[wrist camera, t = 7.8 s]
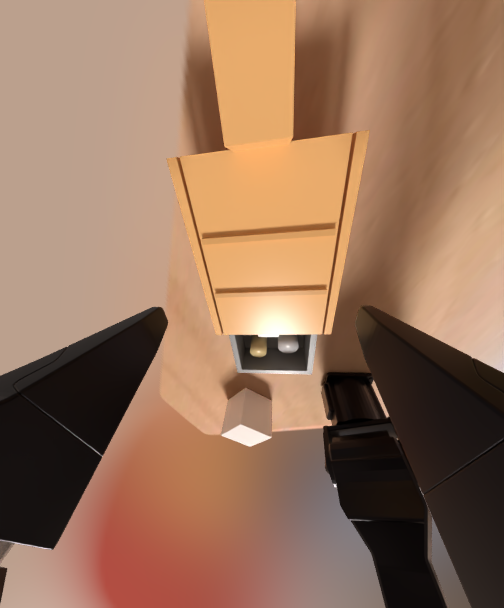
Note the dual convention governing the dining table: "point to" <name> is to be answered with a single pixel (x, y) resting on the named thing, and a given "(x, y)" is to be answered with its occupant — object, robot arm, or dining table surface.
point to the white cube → (248, 418)
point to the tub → (274, 353)
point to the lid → (266, 185)
